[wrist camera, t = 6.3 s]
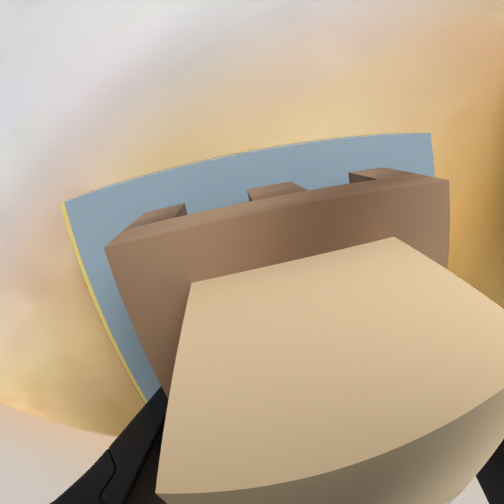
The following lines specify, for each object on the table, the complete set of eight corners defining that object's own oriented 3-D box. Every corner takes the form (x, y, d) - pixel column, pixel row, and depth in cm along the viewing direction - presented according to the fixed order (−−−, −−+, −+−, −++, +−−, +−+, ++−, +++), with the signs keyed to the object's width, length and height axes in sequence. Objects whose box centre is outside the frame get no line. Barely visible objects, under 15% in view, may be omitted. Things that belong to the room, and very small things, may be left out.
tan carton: (394, 236, 5) (552, 348, 2) (388, 379, 7) (457, 496, 3) (191, 282, 5) (155, 493, 2) (239, 419, 7) (254, 562, 3)
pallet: (384, 167, 8) (448, 180, 5) (379, 401, 11) (405, 450, 9) (143, 213, 8) (103, 247, 5) (225, 438, 11) (228, 495, 8)
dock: (390, 133, 12) (430, 133, 9) (393, 350, 16) (417, 381, 13) (91, 191, 11) (57, 204, 8) (171, 399, 15) (165, 439, 13)
